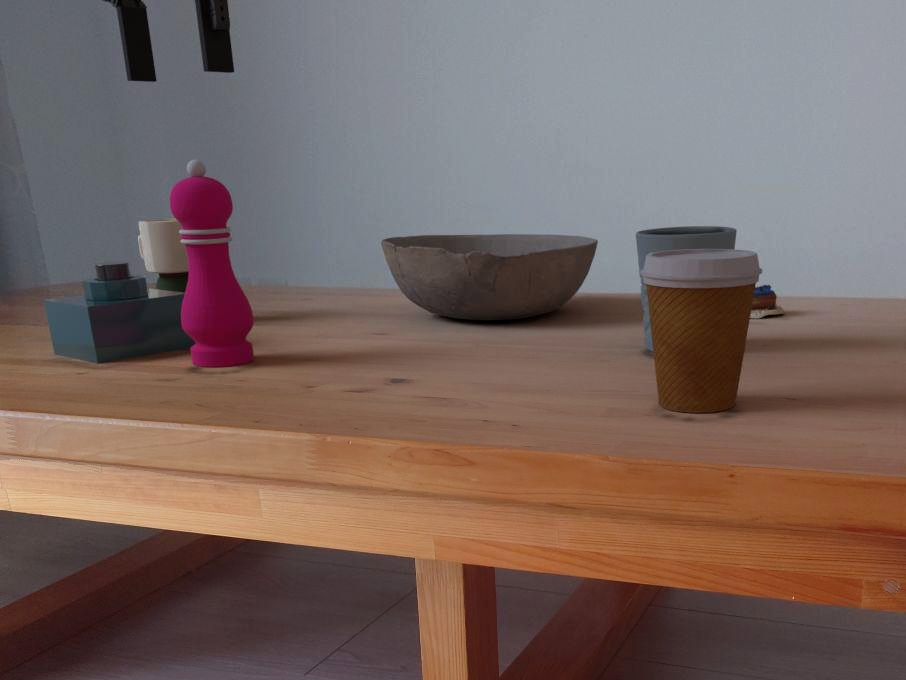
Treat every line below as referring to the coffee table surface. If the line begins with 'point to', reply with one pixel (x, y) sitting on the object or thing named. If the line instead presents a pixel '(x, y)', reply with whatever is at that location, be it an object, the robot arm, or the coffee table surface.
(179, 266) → the character mug
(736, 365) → the disposable coffee cup
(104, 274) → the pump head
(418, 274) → the bowl
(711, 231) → the grey cup
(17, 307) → the coffee table surface
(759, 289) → the dessert
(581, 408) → the coffee table surface
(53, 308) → the blue-grey boxy piece
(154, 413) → the coffee table surface
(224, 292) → the pepper mill
